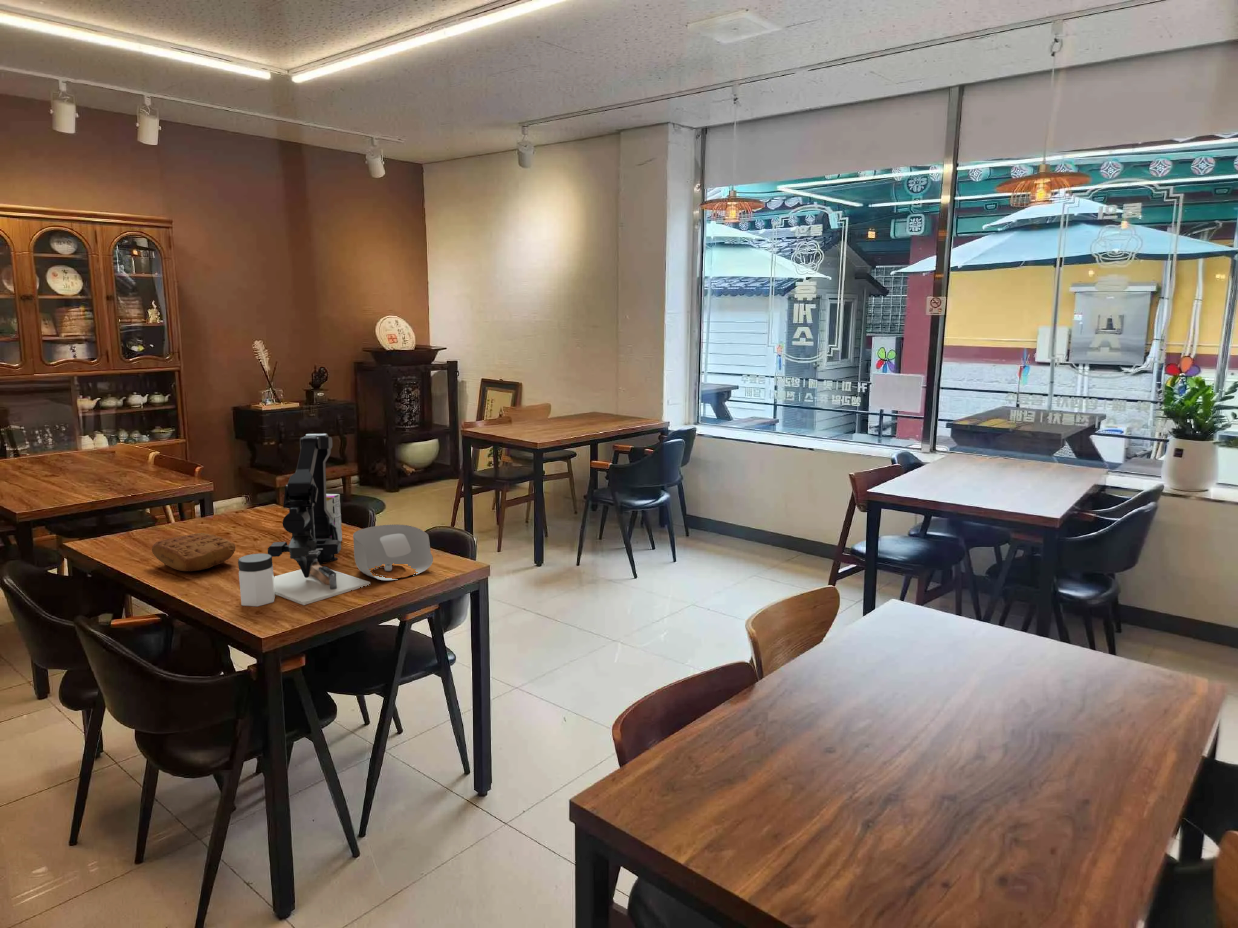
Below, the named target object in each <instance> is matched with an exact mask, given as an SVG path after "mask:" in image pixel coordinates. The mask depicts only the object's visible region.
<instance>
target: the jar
mask: <svg viewBox="0 0 1238 928" xmlns="http://www.w3.org/2000/svg"><path fill="white" fill-rule="evenodd" d="M237 560H238V561H237V565H238V570H239V571H238V579H239V589H240V592H239V593H240V603H241V604H240V605H241V606H244V607H245V606H246V607H261V606H264V605H267V604H272V603H274V602H275V597H276V594H275V589H274V566H273V565H274V564H273V557H272V556H271V555H269V554H268V553H252V554H246V555H244V556H241V557H238V559H237Z"/></svg>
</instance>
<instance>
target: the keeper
mask: <svg viewBox="0 0 1238 928" xmlns="http://www.w3.org/2000/svg"><path fill="white" fill-rule="evenodd" d="M314 563H317V558H315V559H314V561H313V564H314ZM332 570H333V569H331V568H329V567H328V566H327V565H326V566H325V565H324V566H322V567H319V571H321V572H322V573H323V574H325V575H326V576H327V577H329V583H330V589H331V590H333V589H337V583H336V573H335V572H333V571H332Z"/></svg>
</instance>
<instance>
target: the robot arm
mask: <svg viewBox="0 0 1238 928" xmlns="http://www.w3.org/2000/svg"><path fill="white" fill-rule="evenodd" d="M332 448H333V438H332V437H331V436H329V434H328V433H306V434H305V436H302V437H299V449H300V450H299V451H300V452H299V456H298V461H297V465H296V469H295V472H294V473H293V474H292V475H290V476H289V479H288V481H287V484H285V486H284V487H285V489H284V497H283V509H285V508H286V509H287V508H288V509H289V512H288V513H287V514H286V515H285V516H284V517H283V519H282V527H283V529H284V531H286V532H288V533H290V534H291V539H290V541H289V544H288V543H287V541H274V542H272V543H271V545H269V546H268V547H267V554H269V555H271V556H272V558H277V557H278V558H279V557H280V556H281V555H282V554H283V553H289V558H290V559H292V560H294V561H295V562H296V563H297V564H298V566H299V569H301V570H302V572H303V574H304V577H305V578H308V577H309V574H310V571H311V567H312V564H313V561H314V559H315V558H317V562H319V565H321V564H325V563H330V562H333V561H337V560H338V559H339V557H336V555H338V554H339V553H340V552H341V550H342V543H341V542H342V541H341V542H340V541H339V540H338V533H337V529H336V527H335V525H334V523H333V519H332V516H331V515H330V513H329V512H328V510H327V502H326V494H327V477H326V476H327V475H326V473H327V471H326V465H327V464H326V462H327V461H328V459H329V457H330V455H331V453H332ZM331 536H332V537H331Z"/></svg>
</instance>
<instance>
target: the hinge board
mask: <svg viewBox="0 0 1238 928" xmlns="http://www.w3.org/2000/svg"><path fill="white" fill-rule="evenodd" d="M331 570H332V571H333V572H335V573H336V583H337V589H333V590H331V589H330V585H327V584H324V583H323V582H322V581H320V580H319V579H317V578H316V577H315V576H313V575H312V574H309V577H308V578H305V577H304V574H303V572H302V570H301V568H299V569H297V570H294V571H289V572H286V573H283V574H282V573H281V574H278V575H275V576H274V575H273V576H274V589H275V596H279V597H282V598H284V599H287V600H289V601H292V602H294V603H296V604H300V605H302V606H306V605H309V604H312V603H315V602H319V601H323V600H326V599H329V598H332V597H335V596H339V595H342V594H345V593H348V592H352V591H354V590H358V589H360V587H361V588H364V587H363V586H365V587H367V585H368V586H370V585H371V581H368V580H365V579H362V578H359V577H355V576H353V575H350V574H346V573H343V572H340V571H337V570H334V569H331ZM369 584H370V585H369ZM351 590H352V591H351Z"/></svg>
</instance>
